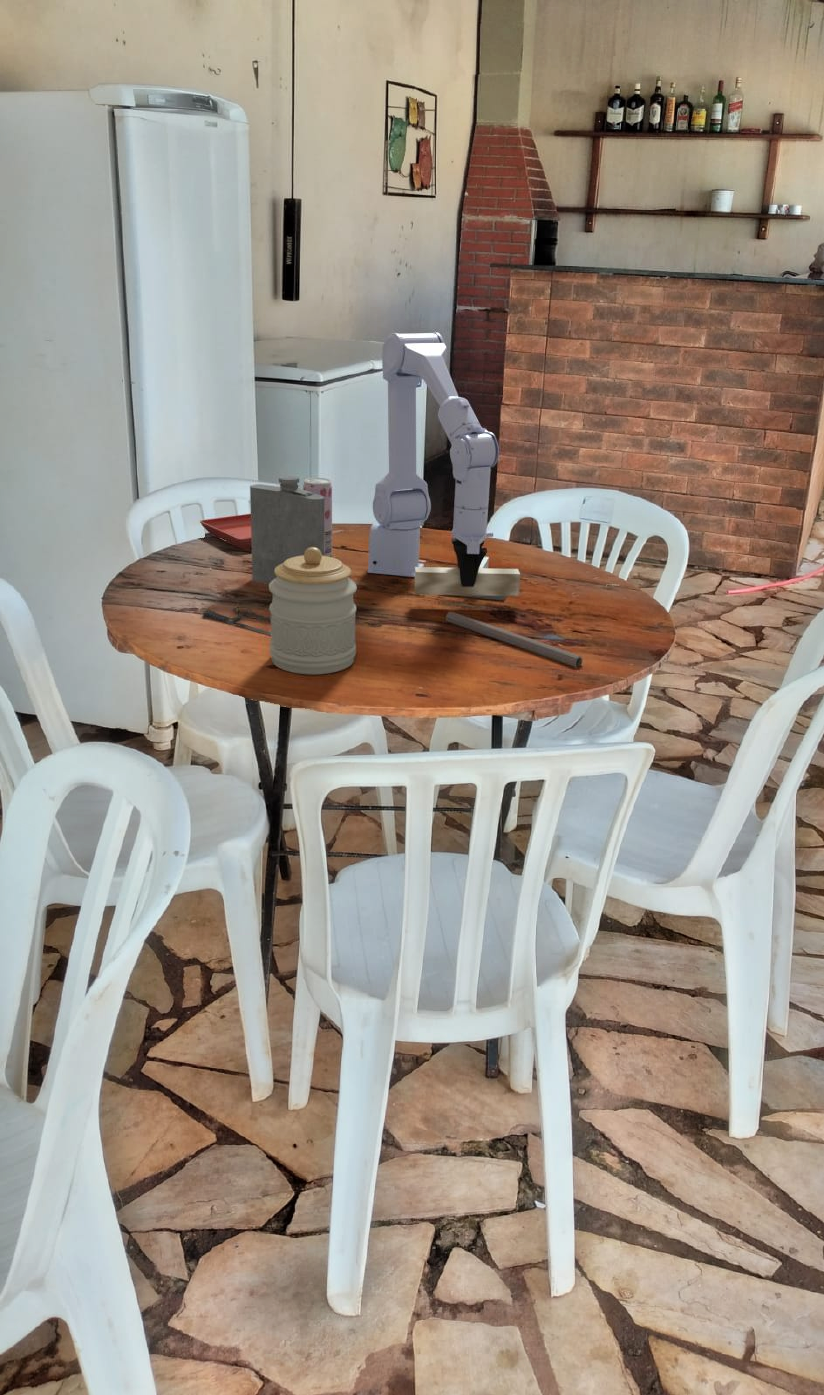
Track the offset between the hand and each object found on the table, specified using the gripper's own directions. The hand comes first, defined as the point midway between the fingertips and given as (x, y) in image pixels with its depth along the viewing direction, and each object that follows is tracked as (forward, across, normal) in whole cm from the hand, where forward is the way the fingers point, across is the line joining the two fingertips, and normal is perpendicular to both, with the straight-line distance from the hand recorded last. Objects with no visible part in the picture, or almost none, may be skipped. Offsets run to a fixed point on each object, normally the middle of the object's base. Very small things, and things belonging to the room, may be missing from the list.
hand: (466, 582), depth 190 cm
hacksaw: (+5, -10, +33) cm, 35 cm away
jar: (+5, -26, +26) cm, 37 cm away
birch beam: (+2, 0, 0) cm, 2 cm away
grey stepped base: (+4, +12, -3) cm, 14 cm away
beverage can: (+5, +31, +27) cm, 41 cm away
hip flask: (+5, +10, +31) cm, 33 cm away
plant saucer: (+5, +44, +40) cm, 60 cm away
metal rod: (+5, -17, -6) cm, 19 cm away
